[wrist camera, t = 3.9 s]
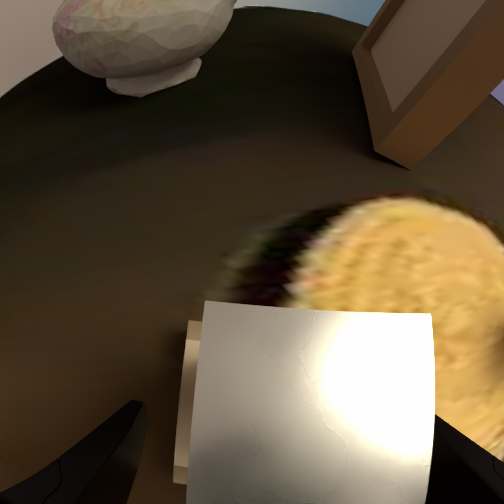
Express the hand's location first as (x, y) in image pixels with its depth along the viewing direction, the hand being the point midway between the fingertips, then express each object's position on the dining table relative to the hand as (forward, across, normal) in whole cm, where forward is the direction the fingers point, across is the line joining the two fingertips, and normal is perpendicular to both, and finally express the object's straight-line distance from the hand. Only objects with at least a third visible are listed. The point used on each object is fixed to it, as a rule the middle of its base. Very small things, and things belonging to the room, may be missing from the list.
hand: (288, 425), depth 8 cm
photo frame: (+28, -17, -16) cm, 36 cm away
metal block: (+6, 0, +6) cm, 8 cm away
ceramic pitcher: (+29, +14, -17) cm, 36 cm away
